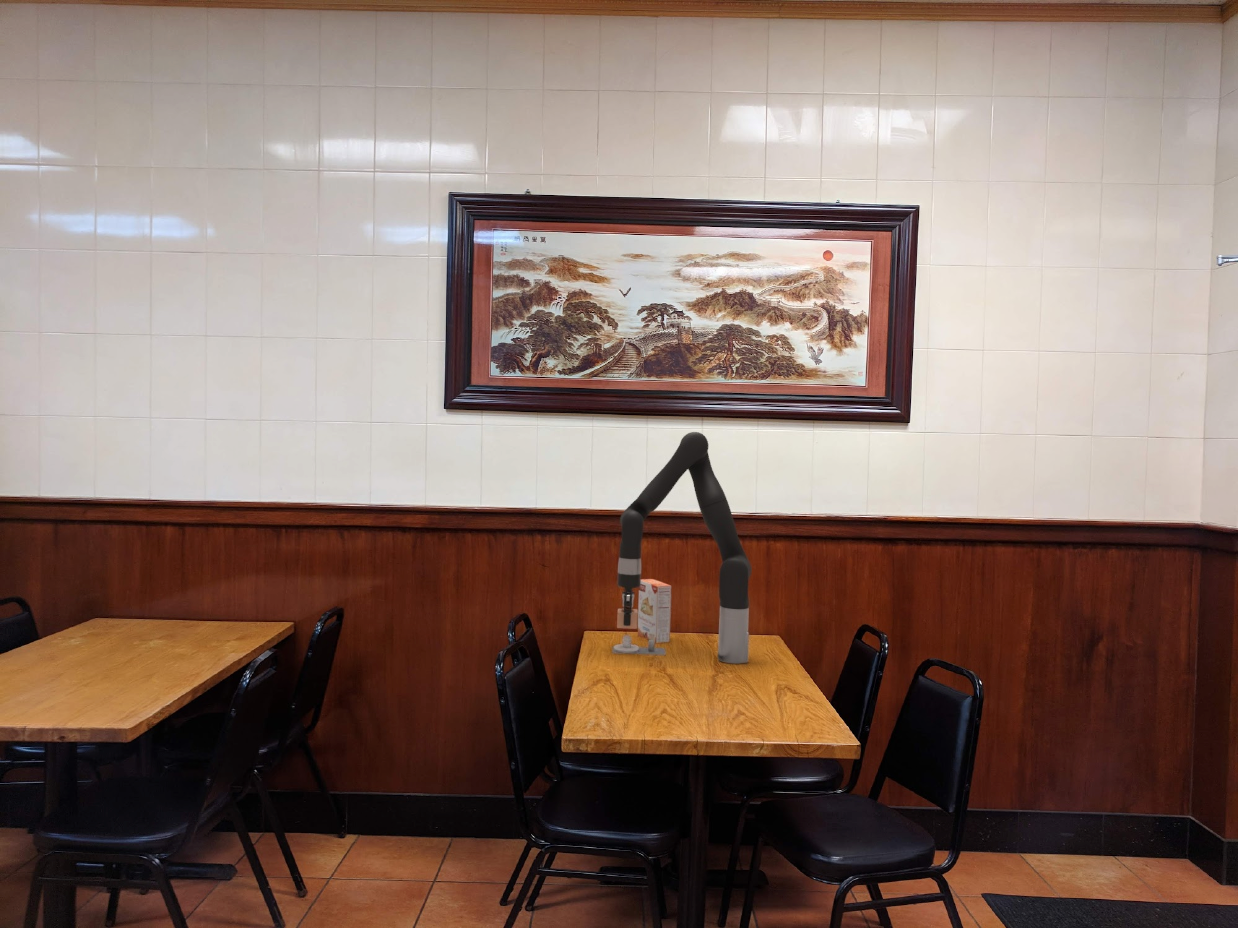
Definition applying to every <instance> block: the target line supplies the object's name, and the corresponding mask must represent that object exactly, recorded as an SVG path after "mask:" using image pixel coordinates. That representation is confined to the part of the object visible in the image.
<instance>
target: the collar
mask: <svg viewBox="0 0 1238 928" xmlns="http://www.w3.org/2000/svg"><path fill="white" fill-rule="evenodd" d="M623 610H624V608H617V613H616V614H617V615H616V616H617V618H616V619H617V620H616V621H617V622H616V628H617V629H629V630H630V629H631V630H632V629H635V630H638V608H632V609H631V611H632V613H631V624H630V626H625V625H624V613H623Z"/></svg>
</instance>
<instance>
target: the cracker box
mask: <svg viewBox="0 0 1238 928" xmlns="http://www.w3.org/2000/svg"><path fill="white" fill-rule="evenodd" d="M671 608H672V585H670V584H667V583H665V582H663V581H660V580H657V579H654V578H647V579H646V578H642V579H641V584H640V587H638V608H637V609H638V615H637V637H639V638H640V637H642V638H645V639H647V640H648V641H649V640H650V639H653V640H655V644H656V643H658V644H659V643H669V642H671V619H672V618H671V613H672V612H671V611H672V609H671Z"/></svg>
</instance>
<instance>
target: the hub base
mask: <svg viewBox="0 0 1238 928" xmlns="http://www.w3.org/2000/svg"><path fill="white" fill-rule="evenodd" d="M655 644H656V643H655V640H653V639H650V640H649V639H648V644H647V645H648V646H647V647H646V646H645V647H644V646H639V645H636V644H632V637H631V635H629V634H625V635H623V637H622V643H619V644H615V645H613V646H612V654H626V655H627V654H629V655H651V656H652V655H655V656H666V655H667V654H666V647H655Z"/></svg>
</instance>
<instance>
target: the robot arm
mask: <svg viewBox="0 0 1238 928" xmlns="http://www.w3.org/2000/svg"><path fill="white" fill-rule="evenodd" d="M709 455H710V454H709V441H708V439H707V437H706V436H705V434H703V433H701V432H697V431H690V432H688V433H686V434H685V435H683V437H681V440H680V443H679V446H678V447H677V449H676V450H675V452H674V453H673V455H672V456H671V458H670V459H669V460H668V462H667V463H666V464H665V465H664V467H663V468H662V469H661V470H660V471H659V472H658V473H657V474H656V475H655V476H654V477H653V479H651V480H650V482H649V483H648V484H647V485H646V486H645V488H644V489H643V490H642V492H641V493H640V494H639V495H638V496H637V497H636V499H635V500H634V501H633V502H632V503H630V505H628V507H627V508H625V509H624V511H623V512H622V513H621V515H620V518H619V523H620V525H621V541H620V542H619V553H618V554H619V557H618V562H617V563H618V564H617V586H618V588H624V590H623V591H622V593H621V595H622V596H621V598H622V608H623V609H624V610H623V613H624V625H625V626H630V624H631V613H632V611H631V609H633V607H634V599H635V593H636V592H635V591H634V590H633V589H636V588H638V589H639V587H640V584H641V578H642V540H643V532H644V521H645V520H646V518H647V517H648V516H649V515H650V514H651V513H652V512H654V511H655V510H656V509H657V508H658V507H659V506H660V505H661V503H663V501H664V500H665V499H666V497H668V495H669V494H670V492H671V491H672V490H673V489H674V487H675V485H676V484H677V483H678V482H679V480H680V479H681V477H682V476H683V475H684V474H685V473H686V472H687V471H688V472H689V474H690V477H691V479H692V483H693V484H692V485H693V487H694V491H695V492H694V493H695V497H696V499H697V500H696V501H697V505H698V506H699V511H700V513H701V516H702V518H703V521H704V524H705V526H706V528H707V529H708V531H709V532H710V535H711V536H712V537H713V539H714V541H715V543H716V545H717V547H718V550H719V553H720V558H721V562H722V564H721V565H720V568H719V574H718V575H719V576H718V577H719V578H718V597H719V621H718V622H719V623H718V645H717V647H718V649H717V660H718V661H719V662H723V663H726V664H727V663H728V664H744V663H745V664H747V663H749V649H750V648H749V647H750V646H749V645H750V644H749V642H750V640H749V639H750V632H749V619H750V618H749V617H750V616H749V612H750V610H749V609H750V598H749V579H750V577H751V575H752V565H751V562H750V561H749V558H748V557H747V555H746V551H745V550H744V548H743V546H742V543H741V541H740V539H739V536H738V531H737V527H736V525H735V520H734V518H733V517H734V516H733V515H732V510H731V508H730V504H729V501H728V499H727V496H726V494H725V492H724V490H723V488H722V486H721V483H720V481H719V479H717V477H716V474H715V473H714V470H713V468H712V464H711V460H710V457H709Z"/></svg>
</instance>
